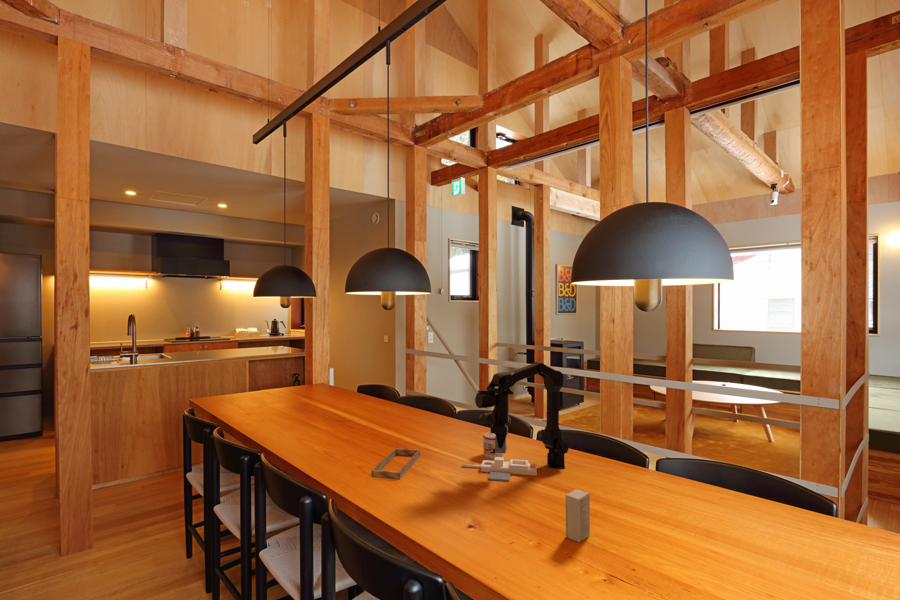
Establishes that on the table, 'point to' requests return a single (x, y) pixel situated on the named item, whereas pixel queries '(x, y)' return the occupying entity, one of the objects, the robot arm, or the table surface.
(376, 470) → the wooden frame
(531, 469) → the power strip
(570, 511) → the skincare box
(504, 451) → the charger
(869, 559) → the table surface
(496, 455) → the teacup with lid
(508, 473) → the coaster
